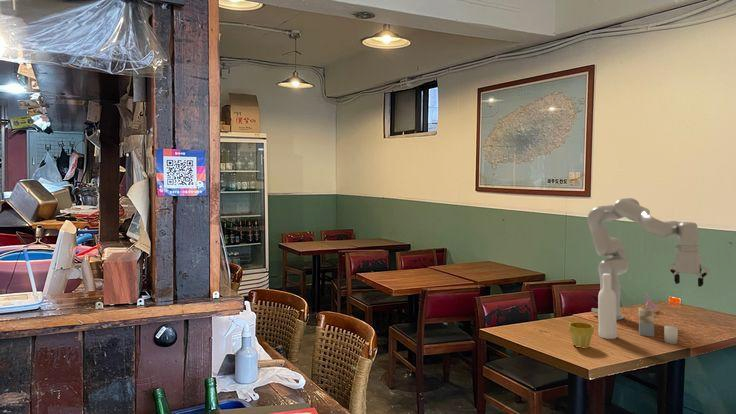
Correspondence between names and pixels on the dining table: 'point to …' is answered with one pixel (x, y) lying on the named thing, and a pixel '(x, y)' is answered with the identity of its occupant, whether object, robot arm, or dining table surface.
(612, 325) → the bottle
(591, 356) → the dining table surface
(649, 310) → the tower top
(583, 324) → the plant pot
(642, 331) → the tower base
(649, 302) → the lily
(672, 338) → the cylinder
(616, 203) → the robot arm
